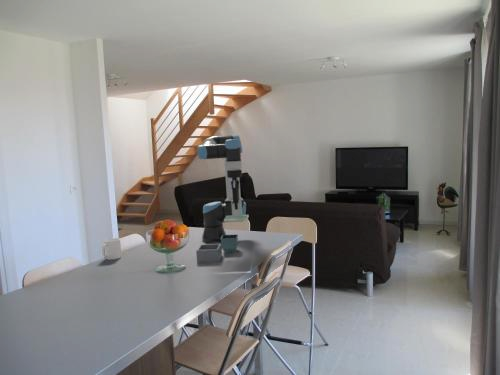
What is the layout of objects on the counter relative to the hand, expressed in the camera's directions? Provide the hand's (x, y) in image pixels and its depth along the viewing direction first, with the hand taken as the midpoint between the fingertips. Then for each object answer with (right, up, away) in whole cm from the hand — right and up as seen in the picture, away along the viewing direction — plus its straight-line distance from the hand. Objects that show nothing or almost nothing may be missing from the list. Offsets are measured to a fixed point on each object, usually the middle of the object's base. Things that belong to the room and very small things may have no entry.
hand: (237, 215), depth 211 cm
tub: (-14, -23, -2) cm, 27 cm away
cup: (-69, -25, +13) cm, 75 cm away
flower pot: (-4, -21, +12) cm, 25 cm away
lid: (0, -2, -5) cm, 5 cm away
